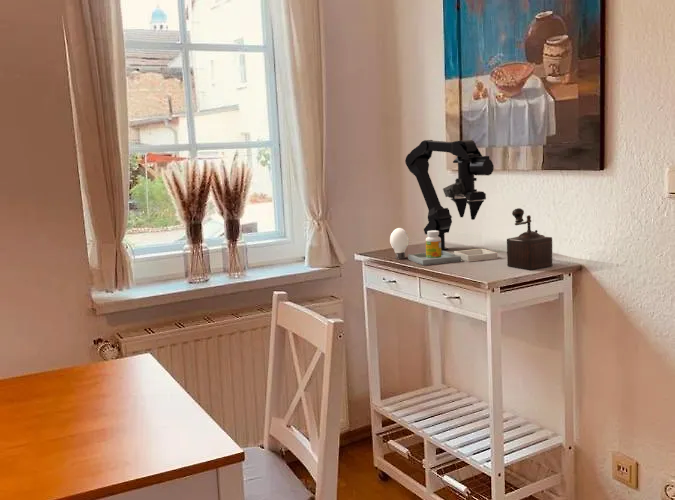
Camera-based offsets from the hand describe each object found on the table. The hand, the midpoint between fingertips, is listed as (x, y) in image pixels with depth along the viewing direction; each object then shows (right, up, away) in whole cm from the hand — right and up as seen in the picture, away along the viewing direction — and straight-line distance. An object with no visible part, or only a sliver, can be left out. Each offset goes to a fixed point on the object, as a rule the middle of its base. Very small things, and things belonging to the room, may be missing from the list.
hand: (467, 218), depth 248 cm
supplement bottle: (-13, -15, -9) cm, 22 cm away
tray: (-13, -15, -9) cm, 22 cm away
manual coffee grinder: (+14, -17, -26) cm, 34 cm away
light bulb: (-24, -15, 0) cm, 28 cm away
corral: (+1, -14, -8) cm, 16 cm away
